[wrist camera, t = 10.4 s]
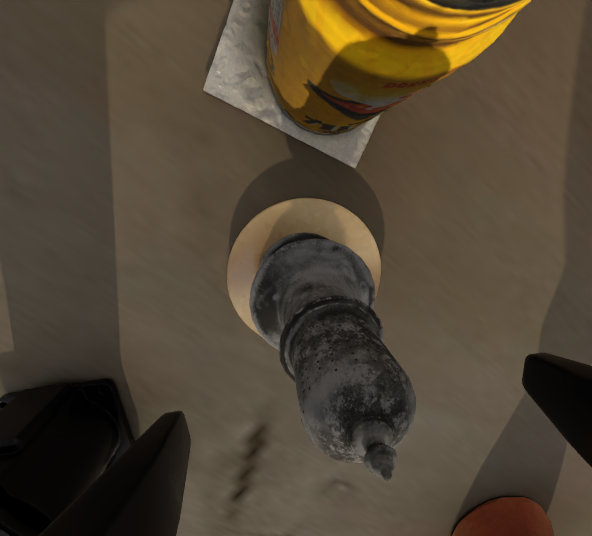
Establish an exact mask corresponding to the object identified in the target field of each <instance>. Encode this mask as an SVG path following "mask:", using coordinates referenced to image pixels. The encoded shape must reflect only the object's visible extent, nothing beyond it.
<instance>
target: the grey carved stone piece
mask: <svg viewBox="0 0 592 536" xmlns="http://www.w3.org/2000/svg"><path fill="white" fill-rule="evenodd" d="M374 304H375V284H374V281H373V278H372V275H371V272H370V270H369V268H368V267H367V265H366V264H365V263H364V261H363V260H362V258H361V257H360V256H358V255H357V254H356V253H355V252H353V251H352V250H351V249H350V248H348V247H347V246H344V245H342V244H340V243H337V242H335V241H332V240H329V239H328V238H325V237H323V236H321V235H318V234H314V233H306V232H303V233H296V234H291V235H289V236H286V237H284V238H281V239H280V240H278V241H277V242H276V243H274V244H273V245H272V246H271V247H270V248H269V249H268V251H267V252H266V253H265V254H264V256H263V258H262V260H261V263H260V265H259V269H258V271H257V273H256V276H255V278H254V281H253V283H252V286H251V291H250V300H249V306H250V312H251V317H252V320H253V322H254V324H255V326H256V328H257V330H258V332H259V334H260V335H261V336H262V337H263V338H264V339H265V340H266V341H267V342H268V344H270V345H271V346H273V347H275V348H276V349H278V350H279V354H280V361H281V363H282V366H283V368H284V370H285V372H286V373H287V374H288V375H289V376H290V378H291V379H292V380H293V381H294V382H296V389H297V395H298V401H299V407H300V413H301V420H302V424H303V426H304V428H305V430H306V432H307V434H308V436H309V438H310V440H311V442H312V443H313V444H314V445H315V446H316V447H317V448H318V449H319V450H320V451H322V452H323V453H325V454H327V455H328V456H330V457H332V458H334V459H336V460H339V461H343V462H347V463H361V462H363V463H364V466H365V468H366V469H367V470H369V471H370V472H372V473H374V474H375V475H377V476H379V477H382V478H383V479H384V480H390V479H391V477H392V472H393V470H394V467H395V466H394V464H395V461H396V459H397V455H396V452H395V448H396V447H397V446H398V445H399V444H400V443H401V442H402V441H403V440H404V438H405V437H406V435H407V434H408V432H409V430H410V428H411V425H412V422H413V419H414V415H415V410H416V397H415V394H414V391H413V387H412V385H411V382H410V379H409V377H408V376H407V374H406V373H405V372H404V370H403V369H402V368H401V366H400V365H399V364H398V362H397V361H396V360H395V358H394V357H393V356H392V354H391V353H390V352H389V350H388V349H387V348H386V346H385V345H384V330H383V327H382V324H381V321H380V319H379V318H378V316H377V315H376V314H375V312H374V311H373V308H374Z"/></svg>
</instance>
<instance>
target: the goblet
mask: <svg viewBox="0 0 592 536" xmlns="http://www.w3.org/2000/svg"><path fill="white" fill-rule="evenodd" d="M452 536H554V534H553V530H552V526H551V523H550V520H549V519H548V517H547V515H546V513H545V512H544V510H543V508H542V507H541V506H540V505H539V504H537V503H536V502H534V501H533V500H531V499H529V498H526V497H501V498H498V499H494V500H490V501H488V502H486V503H484V504H482V505H480V506H478V507H477V508H475V509H474V510H473V511H472V512H470V513H469V514H468V515H467V516H465V517H464V518H463V519H462V520H461V521H460V522H459V523H458V525H457V527H456V529H455V530H454V532H453V534H452Z"/></svg>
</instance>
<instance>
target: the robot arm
mask: <svg viewBox="0 0 592 536" xmlns="http://www.w3.org/2000/svg"><path fill="white" fill-rule="evenodd" d="M522 383H523V386H524V388H525V390H526V391H527V393H528V394H529V395H530V396H531V398H532V399H533V400H534V401H535V402H536V404H537V405H538V406H539V407H540V408H541V410H542V411H543V412H544V413H545V415H546V416H547V417H548V418H549V419H550V421H551V422H552V423H553V424H554V425H555V427H556V428H557V429H558V430H559V432H560V433H561V434H562V435H563V436H564V438H565V439H566V440H567V441H568V442H569V443H570V445H571V446H572V447H573V448H574V449H575V450H576V451H577V452H578V453H579V454H580V456H581V457H582V458H583V459H584V460H585V461H586V462H587V463H588V464H589V465H590V466H591V467H592V366H590V365H586V364H583V363H579V362H576V361H572V360H569V359H565V358H562V357H559V356H555V355H552V354H548V353H536V354H530V355H528V356H527V357H526V358H525V363H524V370H523V377H522ZM102 387H105V388H106V389H103V388H102ZM190 444H191V442H190V434H189V431H188V427H187V423H186V419H185V416H184V413H183V412H182V411H174V412H168V413H165V414H163V415H162V416H161V417H160V418H159V419H158V420H157V421H156V422H155V423H154V424H153V425H152V426H151V427H150V428H149V429H148V430H147V431H146V432H145V433H144V434H143V435H142V436H140V437H139V438H138V439H137V440H136V441H135V442H134V440H133V437H132V434H131V431H130V428H129V425H128V422H127V419H126V416H125V413H124V410H123V408H122V405H121V402H120V399H119V396H118V393H117V390H116V387H115V384H114V383H113V382H112V381H111V380H109V379H101V380H94V381H88V382H81V383H75V384H68V383H65V384H59V385H52V386H45V387H39V388H32V389H26V390H23V391H22V392H16V393H9V394H5V395H3V396H2V397H1V398H0V536H176V533H177V529H178V524H179V520H180V514H181V508H182V501H183V494H184V487H185V480H186V474H187V467H188V460H189V453H190Z"/></svg>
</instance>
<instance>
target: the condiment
mask: <svg viewBox="0 0 592 536" xmlns="http://www.w3.org/2000/svg"><path fill="white" fill-rule="evenodd" d="M530 1H531V0H234V1H233V4H232V7H231V10H230V13H229V16H228V19H227V24H226V26H225V28H224V31H223V34H222V36H221V39H220V42H219V45H218V48H217V51H216V54H215V57H214V60H213V63H212V66H211V68H210V71H209V74H208V77H207V80H206V83H205V86H204V89H203V91H205V92H207V93H209V94H211V95H213V96H215V97H217V98H219V99H221V100H223V101H225V102H227V103H229V104H231V105H233V106H235V107H237V108H239V109H241V110H243V111H245V112H247V113H249V114H251V115H253V116H254V117H256V118H258V119H260V120H262V121H264V122H266V123H268V124H270V125H272V126H274V127H276V128H277V129H279V130H281V131H283V132H285V133H287V134H289V135H291V136H293V137H294V138H296V139H298V140H300V141H302V142H304V143H306V144H308V145H310V146H312V147H314V148H316V149H318V150H320V151H322V152H324V153H326V154H328V155H330V156H332V157H334V158H335V159H337V160H339V161H341V162H343V163H345V164H347V165H349V166H352V167H354V168H356V166H357V164H358V161H359V159H360V157H361V155H362V153H363V151H364V149H365V147H366V144H367V142H368V140H369V138H370V136H371V133H372V131H373V129H374V127H375V125H376V123H377V121H378V119H379V117H380V114H381V113H383V112H385V111H387V110H388V109H390V108H391V107H393V106H394V105H396V104H398V103H400V102H401V101H403V100H405V99H407V98H408V97H410V96H411V95H413V94H415V93H417V92H418V91H420V90H422V89H424V88H426V87H429V86H430V85H431V84H432V83H434V82H436V81H438V80H440V79H442V78H445V77H447V76H449V75H450V74H452V73H453V72H454V71H456V70H457V69H458V68H460V67H462V66H464V65H466V64H468V63H469V62H470V61H471V60H473V59H474V58H475V57H476V56H478V55H479V54H480V53H481V52H482V51H483V50H485V49H486V48H487V47H488V46H489V45H491V44H492V43H493V42H494V41H495V40H496V39H497V37H498V36H499V35H500V34H501V33H502V32H503V31H504V30H505V28H506V27H507V26H508V24H509V23H510V22H511V21H512V19H513V18H514V17H515V15H516V14H517V12H519V11H520V10H521V9H522V8H523V7H525V6H526V5H527V4H528V3H529V2H530Z"/></svg>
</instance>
